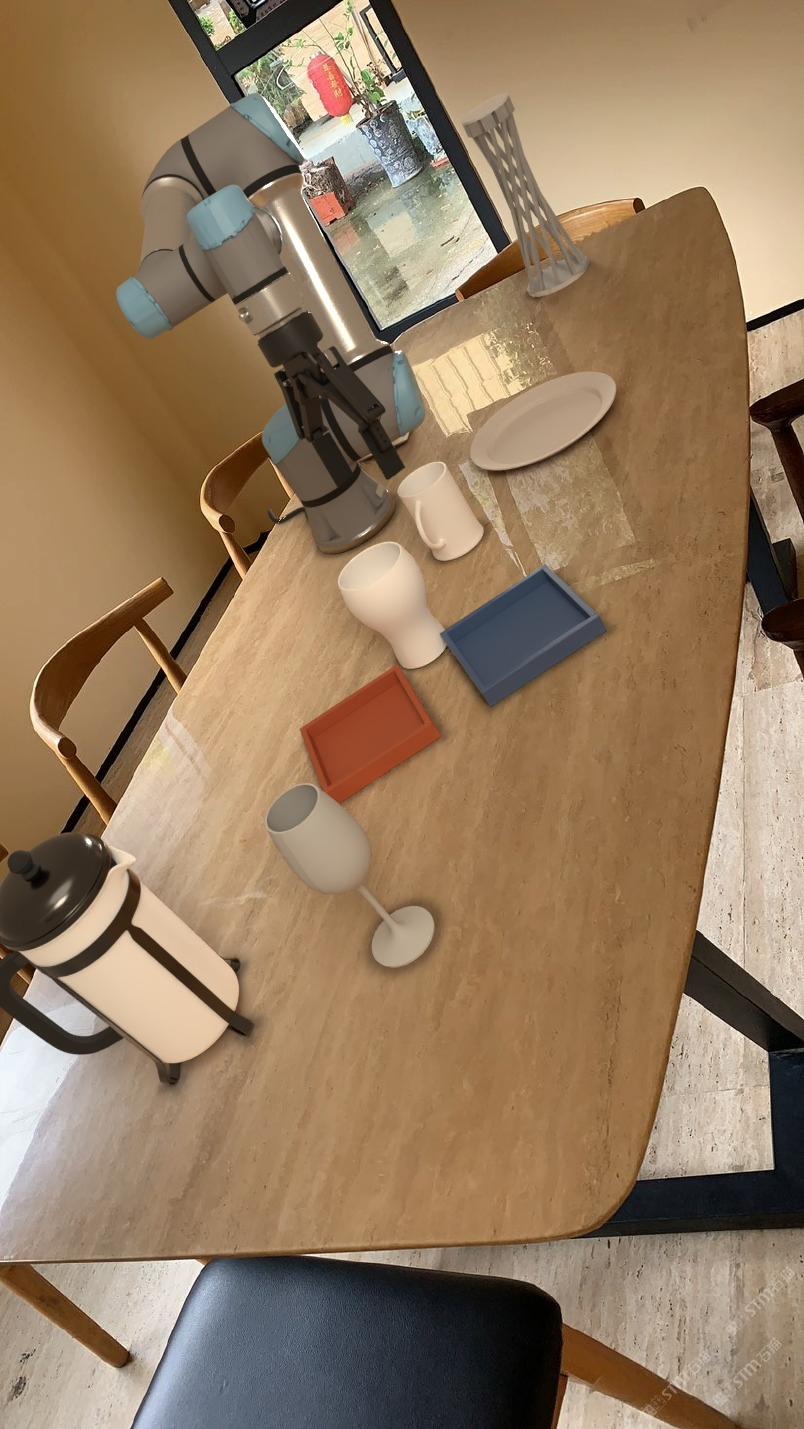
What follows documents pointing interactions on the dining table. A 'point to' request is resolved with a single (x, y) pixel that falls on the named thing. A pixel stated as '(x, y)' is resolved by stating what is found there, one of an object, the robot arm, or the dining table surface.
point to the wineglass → (342, 866)
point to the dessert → (395, 443)
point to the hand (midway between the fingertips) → (369, 477)
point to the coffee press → (112, 954)
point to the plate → (543, 421)
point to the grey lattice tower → (524, 197)
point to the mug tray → (521, 633)
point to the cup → (393, 602)
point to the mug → (440, 511)
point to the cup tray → (367, 734)
